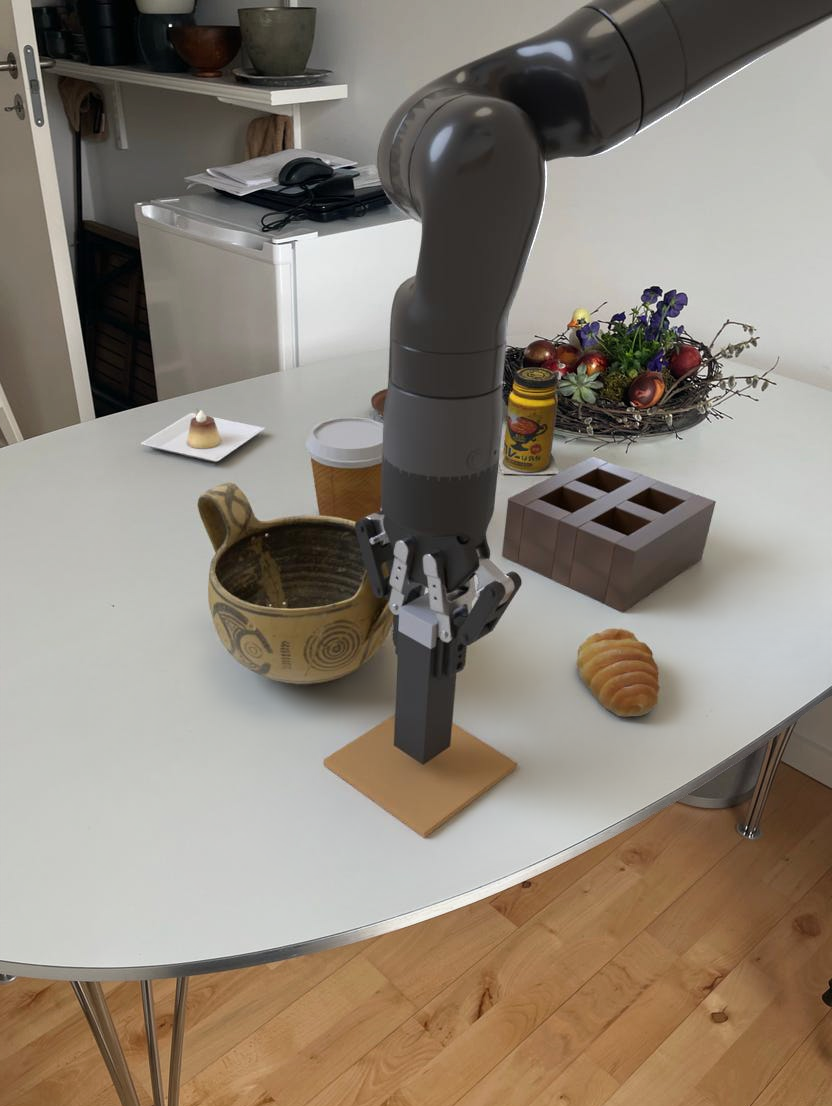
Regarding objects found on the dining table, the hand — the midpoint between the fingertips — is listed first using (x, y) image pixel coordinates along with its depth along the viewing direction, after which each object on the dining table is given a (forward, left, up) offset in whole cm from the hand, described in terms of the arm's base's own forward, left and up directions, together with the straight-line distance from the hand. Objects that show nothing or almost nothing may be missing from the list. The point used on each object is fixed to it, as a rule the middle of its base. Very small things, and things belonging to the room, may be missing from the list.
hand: (427, 662), depth 72 cm
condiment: (+30, -53, -11) cm, 62 cm away
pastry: (-5, -21, -11) cm, 24 cm away
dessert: (+63, -26, -11) cm, 69 cm away
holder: (+9, -39, -10) cm, 41 cm away
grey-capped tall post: (0, 0, -8) cm, 8 cm away
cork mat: (0, 0, -10) cm, 10 cm away
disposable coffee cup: (+32, -23, -11) cm, 41 cm away
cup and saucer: (+51, -54, -11) cm, 75 cm away
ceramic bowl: (+17, -3, -11) cm, 20 cm away
